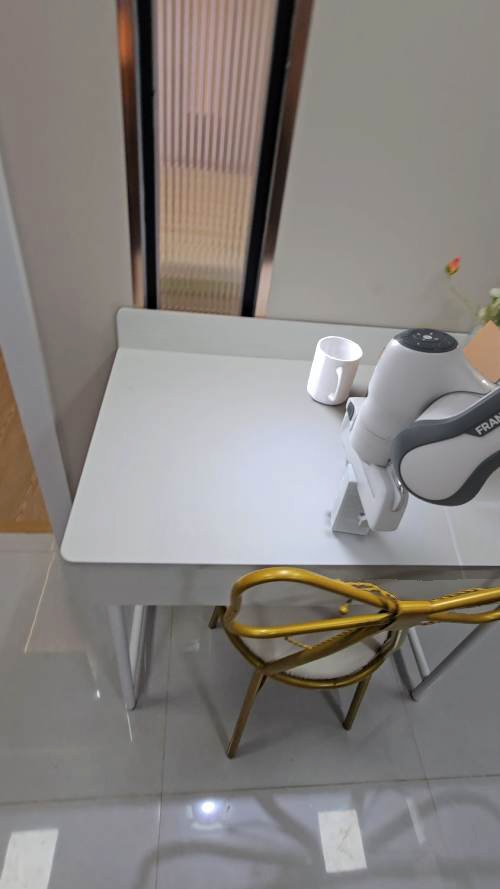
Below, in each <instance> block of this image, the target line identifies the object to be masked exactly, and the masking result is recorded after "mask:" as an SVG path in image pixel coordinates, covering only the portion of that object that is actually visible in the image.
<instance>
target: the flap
mask: <svg viewBox="0 0 500 889" xmlns="http://www.w3.org/2000/svg"><path fill="white" fill-rule="evenodd" d="M462 351H463V353H464V355H465V357H466V358H467V359H468V361H469V362H470V363H471V364H472V365H473V366H474V367H475V368H476V369H477V370H478V371H479V372H480V373H481V374H482V375H483V376H485V377H486V378H487V379H488V380H490V381H491V382H494V383H496V384H498V383H499V382H500V328H499V326H498V325H497V324H496V322H494V321H493V320H492V319H489V320H488V321H487V323H486V324H485V325H484V326H482V328H481V329H480V330H479V331H478V332H477V333H476V335H475V336H474V337H473V338H472V339H471V340H470V341H469V342H468V344H466V346H465V347H464V348H462Z"/></svg>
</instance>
